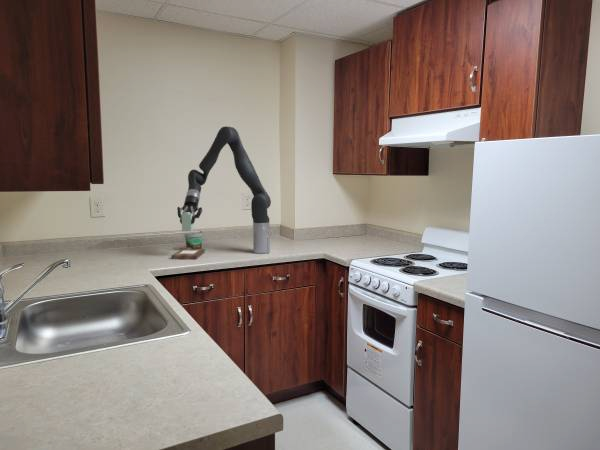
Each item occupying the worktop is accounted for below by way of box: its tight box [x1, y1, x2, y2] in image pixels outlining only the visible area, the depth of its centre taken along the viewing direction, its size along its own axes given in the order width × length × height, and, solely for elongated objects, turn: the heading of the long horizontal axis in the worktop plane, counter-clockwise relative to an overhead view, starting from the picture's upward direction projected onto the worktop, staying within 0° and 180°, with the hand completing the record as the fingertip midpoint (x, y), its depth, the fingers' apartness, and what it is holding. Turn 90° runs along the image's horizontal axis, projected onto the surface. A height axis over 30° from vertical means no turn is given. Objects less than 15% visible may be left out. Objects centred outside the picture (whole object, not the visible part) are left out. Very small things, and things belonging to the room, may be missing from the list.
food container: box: [184, 230, 204, 249], centre depth 263 cm, size 12×6×10 cm, turn 143°
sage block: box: [181, 212, 195, 232], centre depth 243 cm, size 5×5×10 cm
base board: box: [171, 248, 206, 260], centre depth 246 cm, size 13×18×2 cm
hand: (186, 223), depth 242 cm, fingers closed on sage block, 5 cm apart
